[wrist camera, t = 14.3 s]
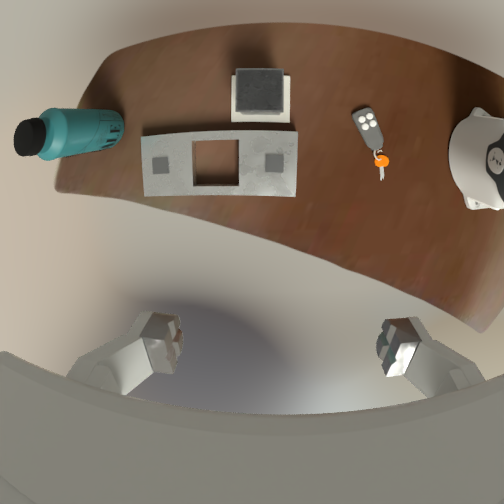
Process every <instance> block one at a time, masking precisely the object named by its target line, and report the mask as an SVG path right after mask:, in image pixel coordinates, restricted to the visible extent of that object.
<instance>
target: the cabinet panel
mask: <svg viewBox="0 0 504 504" xmlns="http://www.w3.org/2000/svg"><path fill="white" fill-rule="evenodd" d="M230 139H239V184H197V181H196V143H195V141H199V140H230ZM297 144H298V132H292V131H264V130H230V131H202V132H186V133H173V134H163V135H153V136H145V137H141V152H142V170H143V184H144V196H173V195H260V196H290V197H295V196H296V173H297Z"/></svg>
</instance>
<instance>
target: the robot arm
mask: <svg viewBox="0 0 504 504" xmlns="http://www.w3.org/2000/svg"><path fill="white" fill-rule="evenodd" d="M449 164H450V169H451V173H452V176H453V178H454V181H455V183H456V184H457V186H458V187H459V189H460V190H461V192H462V193H463V195H464V200H465V203H466V206H467V208H469V209H472V210H474V209H482V208H492V209H495V210H499V209H503V208H504V119H502V118H496V117H492V116H490V115H489V114H488V113H487V112H485V111H484V110H483V109H481V108H478V107H475V108H474V109H473V110H472V112H471V114H470V116H469V117H467V118H466V119H464V120H462V121H461V122H460V123H459V124H458V125H457V126H456V128H455V129H454V131H453V133H452V136H451V140H450V145H449ZM475 202H476V203H475ZM179 326H180V319H179V316H178V315H174V314H166V313H158V312H148V311H142V312H141V313H140V315H139V316H138V318H137V319H136V321H135V322H134V324H133V325H132V327H131V329H130V330H129V332H128V333H127V335H121V336H120V337H118V338H116V339H114V340H112V341H110V342H108V343H106V344H104V345H103V346H100V347H99V348H97V349H95V350H93V351H91V352H89V353H87V354H85V355H83V356H81V357H79V358H78V360H77V361H76V362H75V364H74V365H73V367H72V368H71V370H70V371H69V373H68V374H67V376H66V377H64V376H61V375H59V374H56V373H54V372H51V371H49V370H46V369H44V368H41V367H39V366H37V365H34V364H32V363H30V362H27V361H25V360H23V359H21V358H19V357H17V356H15V355H13V354H11V353H9V352H5V351H2V352H0V504H504V374H502V375H500V376H497V377H495V378H492V379H489V380H487V381H486V380H485V379H484V377H483V376H482V374H481V372H480V371H479V369H478V367H477V366H476V364H475V363H474V362H472V361H470V360H469V359H467V358H465V357H464V356H462V355H460V354H459V353H457V352H455V351H454V350H452V349H450V348H449V347H447V346H445V345H444V344H442V343H440V342H439V341H437V340H432V338H431V336H430V335H429V333H428V332H427V330H426V329H425V327H424V326H423V324H422V323H421V321H420V320H419V318H418V317H407V318H398V319H385V321H384V322H383V324H382V330H383V332H382V333H381V334H380V335H379V336H378V339H377V342H376V351H377V354H378V357H379V358H380V359H382V360H383V363H382V368H383V370H384V373H385V375H386V376H387V377H388V376H397V375H404V377H406V378H407V379H408V380H409V381H410V382H411V383H412V384H413V385H414V386H415V387H416V388H418V389H419V390H420V391H421V392H422V393H423V394H424V395H425V396H426V397H427V399H423V400H418V401H413V402H409V403H403V404H398V405H393V406H387V407H380V408H373V409H366V410H358V411H349V412H337V413H323V414H298V415H271V414H270V415H269V414H246V413H231V412H220V411H209V410H202V409H194V408H187V407H181V406H174V405H168V404H163V403H157V402H153V401H148V400H143V399H139V398H134V397H130V396H126V394H127V393H129V392H130V391H131V390H132V389H134V388H135V387H136V386H137V385H139V384H140V383H141V382H142V381H143V380H145V379H146V378H147V377H148V376H150V375H151V374H152V373H153V372H160V373H168V374H173V373H174V371H175V368H176V365H177V358H176V357H177V356H179V355H180V354H181V351H182V347H183V334H182V332H181V330H180V329H179Z"/></svg>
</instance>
